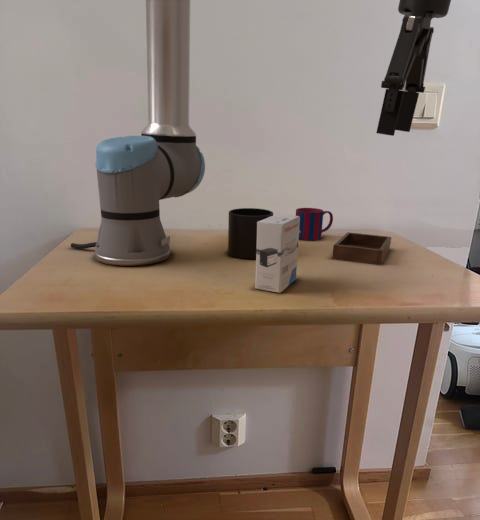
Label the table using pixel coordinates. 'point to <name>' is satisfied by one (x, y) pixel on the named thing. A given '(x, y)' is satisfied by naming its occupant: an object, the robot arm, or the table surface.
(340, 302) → the table surface
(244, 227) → the mug
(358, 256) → the wooden tray
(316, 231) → the cup
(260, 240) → the ink box
